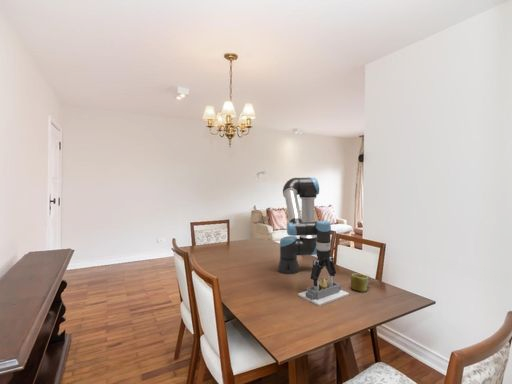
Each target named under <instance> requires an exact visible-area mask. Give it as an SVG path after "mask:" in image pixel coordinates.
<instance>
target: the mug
mask: <svg viewBox="0 0 512 384" xmlns="http://www.w3.org/2000/svg"><path fill="white" fill-rule="evenodd" d="M350 277H351V278H350V288H351V290H353V291H356V292H361V293H364V292H367V290H368V284H369V282H370V281H371V276H370V275H368V274H363V273H362V274H361V273H352V274H351V275H350Z"/></svg>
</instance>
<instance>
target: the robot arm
mask: <svg viewBox="0 0 512 384" xmlns="http://www.w3.org/2000/svg"><path fill="white" fill-rule="evenodd" d="M319 194H320V185H319V181H318V179H317V178H316V177H292V178H290V179H289V180H287V181H286V182H285V183H284V185H283V188H282V196H283V198H284V199H285V205H286V210H287V215H288V222H287V224H286V233H287V234H286V235H287V236H285V237H282V238H280V241H279V262H278V265H277V272H279V273H281V274H286V275H287V274H289V275H291V274H297V273H299V272H300V266H299V262H298V256H315V255H316V257H317V259H316V260H313V261H312V268H311V274H310V280H313V286H314V291H316V292H317V291H319V284H320V278H319V277H320V275H321V273H322V270H323V269H324V268H326V270H327V273H328V275H327V281H328V287H332V286H333V282H334V277H335V276H336V274H337V271H336V267H335V262H334V261H335V258H334V257H332V256H331V255H332V254H331V252H332V251H331V248H332V247H331V242H332V240H331V229H332V228H331V222H330V221H327V220H315V199H316V198H317V195H319ZM298 195H299V196H298ZM298 198H299V199H301V210H300V204H299V201H298ZM297 236H299V238H298V237H297Z"/></svg>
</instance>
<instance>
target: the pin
mask: <svg viewBox="0 0 512 384" xmlns="http://www.w3.org/2000/svg"><path fill="white" fill-rule="evenodd" d="M327 281H328V278H326V277H320V278H319V284H320V290H323V289H326V288H328V282H327Z"/></svg>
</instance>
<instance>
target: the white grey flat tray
mask: <svg viewBox="0 0 512 384" xmlns="http://www.w3.org/2000/svg"><path fill="white" fill-rule="evenodd" d="M327 282H328V280H327ZM341 288H342V287H341V285H340V283H338V282H336V281H333V286H332V287H328V288H326V289H323V290H320V283H319V291H317V292H316V291H314V285H311V286H308V287H307V289H306V291H302V292H299V293H297V296H299V297H301V298H302V299H304V300H306V301H309V302H310V303H312V304H314V305H316V306H318V307H322V306H324V305H327V304H330V303H332V302H335V301H338V300H340V299H343V298H345V297H348V296H350V293H349V292H348V291H345V290H342V289H341Z"/></svg>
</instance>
